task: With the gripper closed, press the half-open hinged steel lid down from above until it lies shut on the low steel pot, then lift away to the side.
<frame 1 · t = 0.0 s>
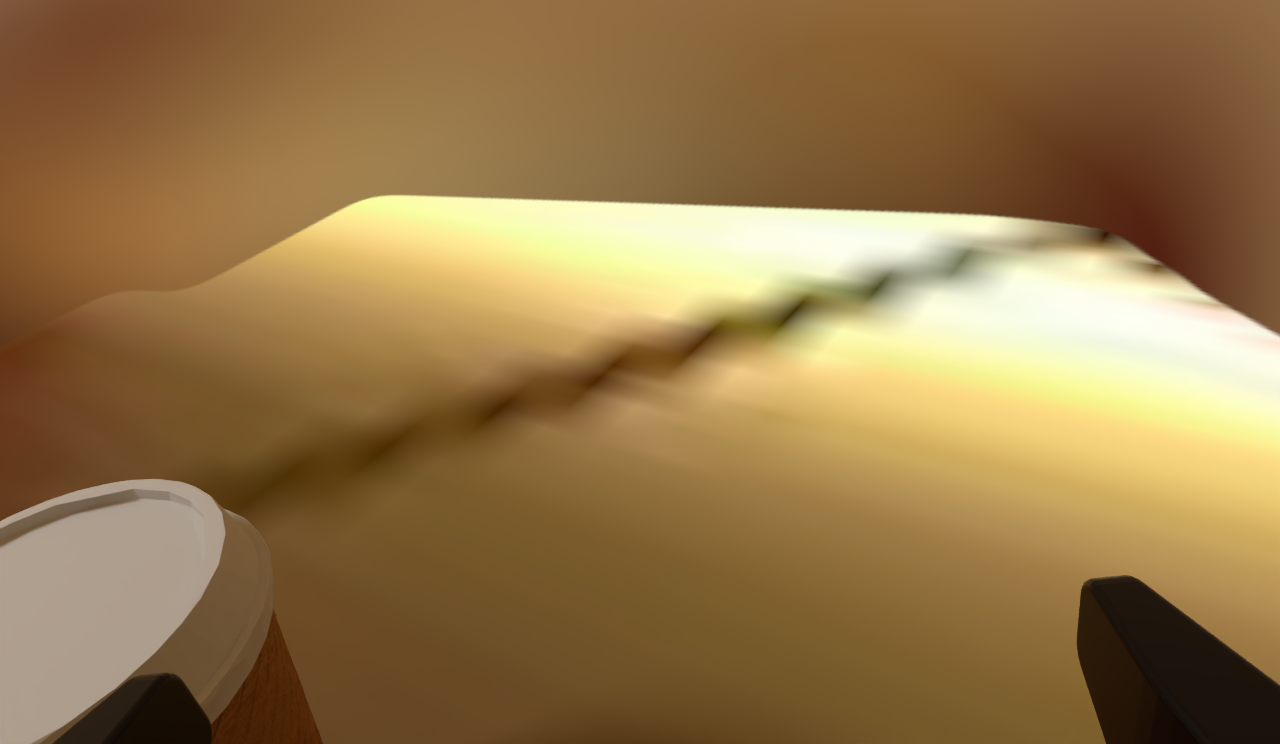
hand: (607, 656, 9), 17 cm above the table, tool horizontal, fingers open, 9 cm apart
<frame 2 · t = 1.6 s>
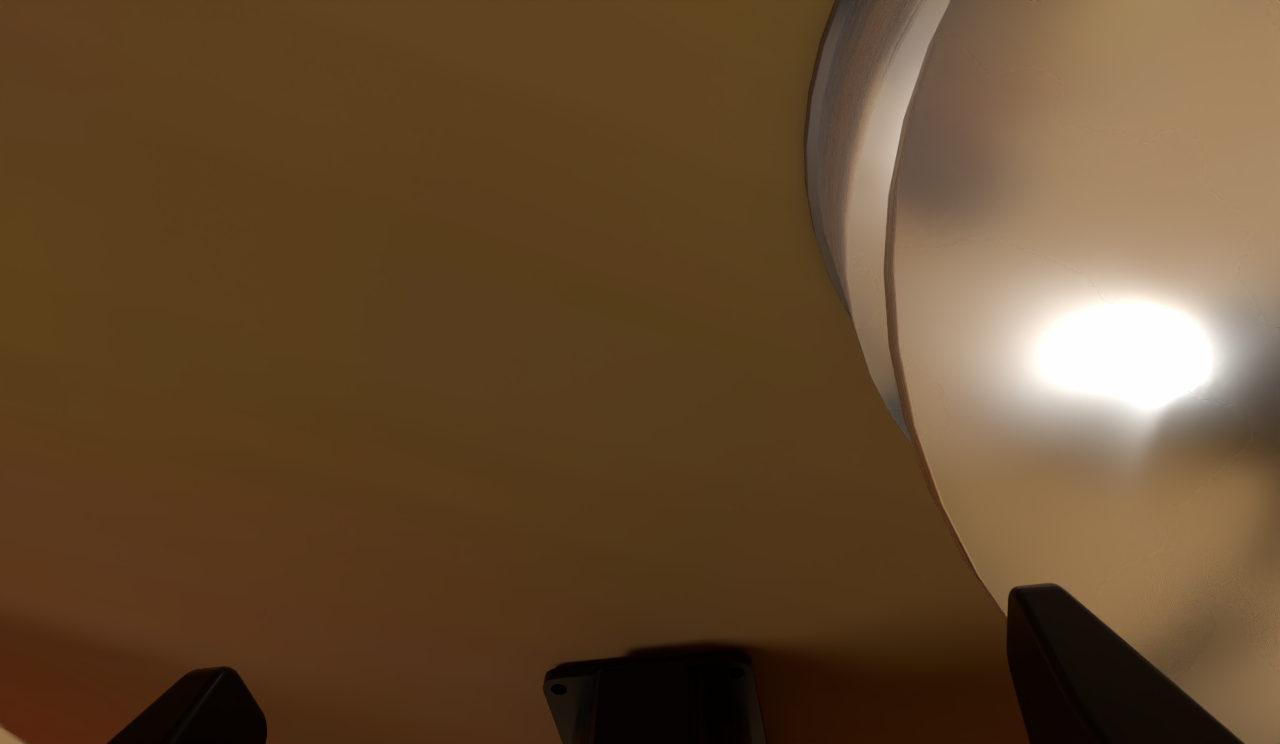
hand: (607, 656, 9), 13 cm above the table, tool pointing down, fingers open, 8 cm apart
pot: (1179, 121, 19), on the table
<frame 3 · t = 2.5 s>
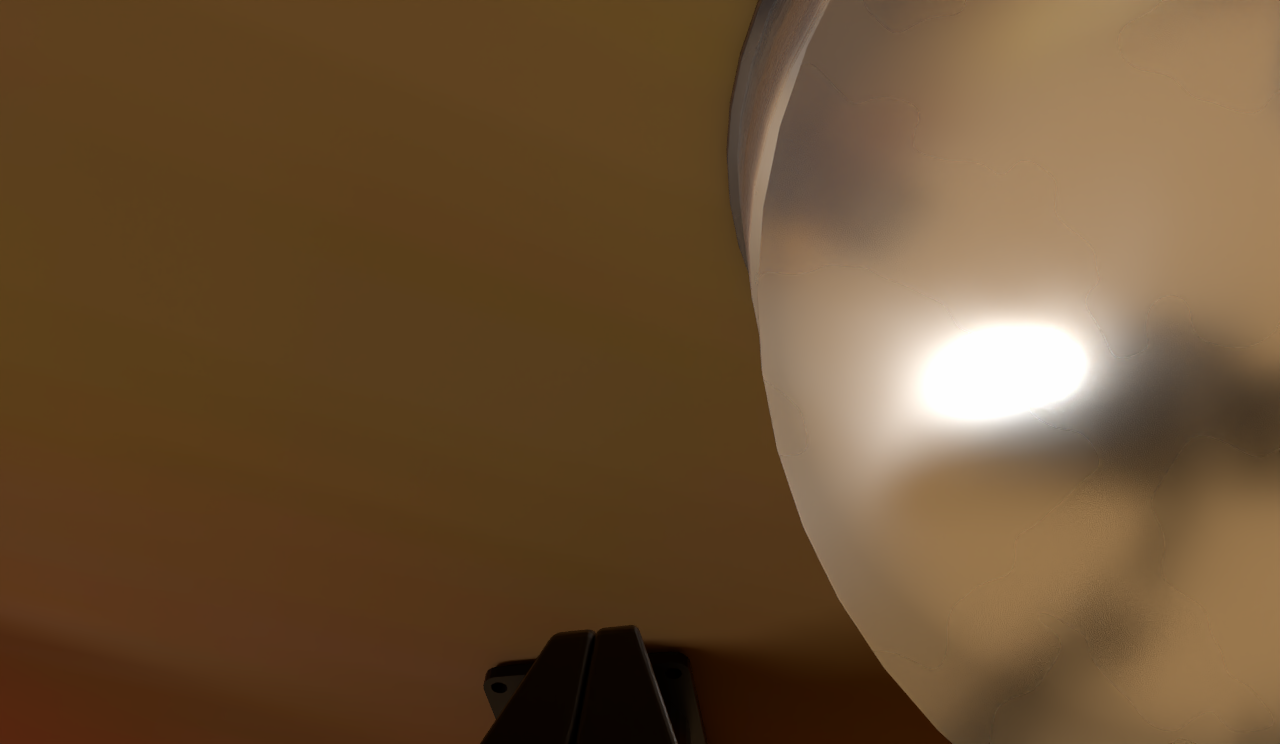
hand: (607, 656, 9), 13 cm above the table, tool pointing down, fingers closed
pot: (1096, 138, 19), on the table
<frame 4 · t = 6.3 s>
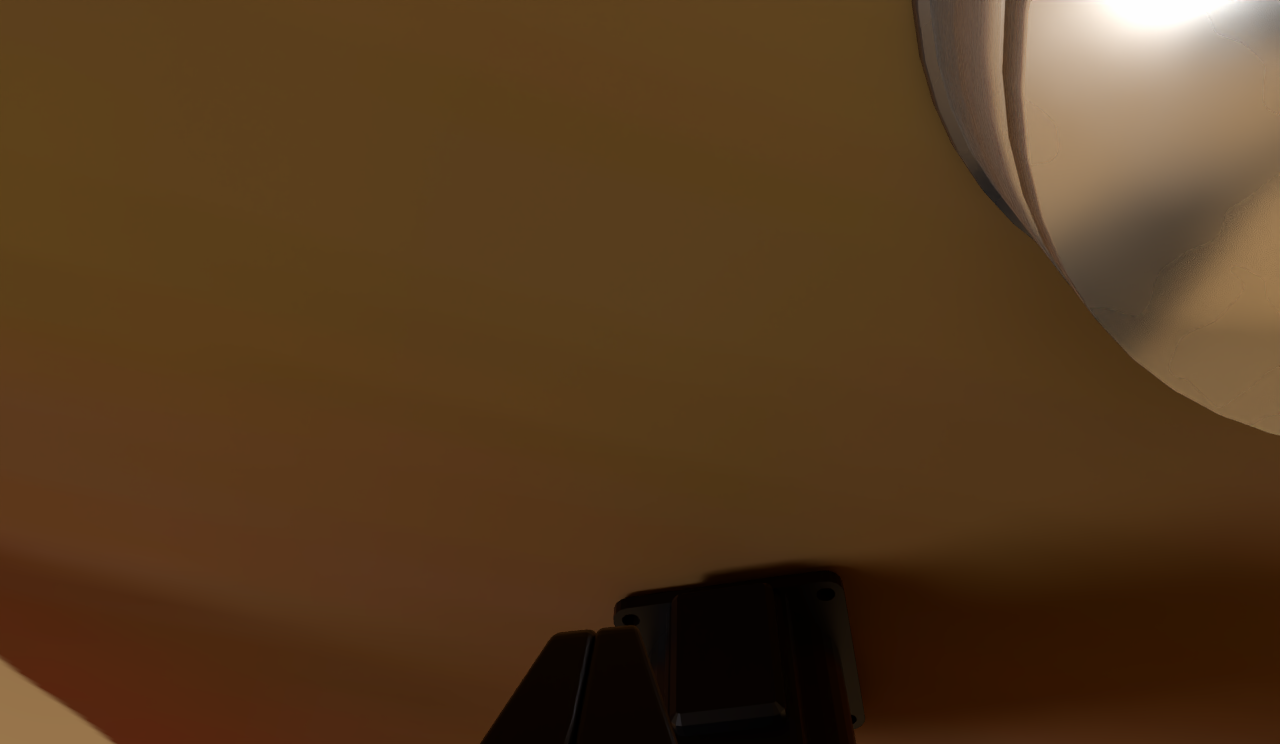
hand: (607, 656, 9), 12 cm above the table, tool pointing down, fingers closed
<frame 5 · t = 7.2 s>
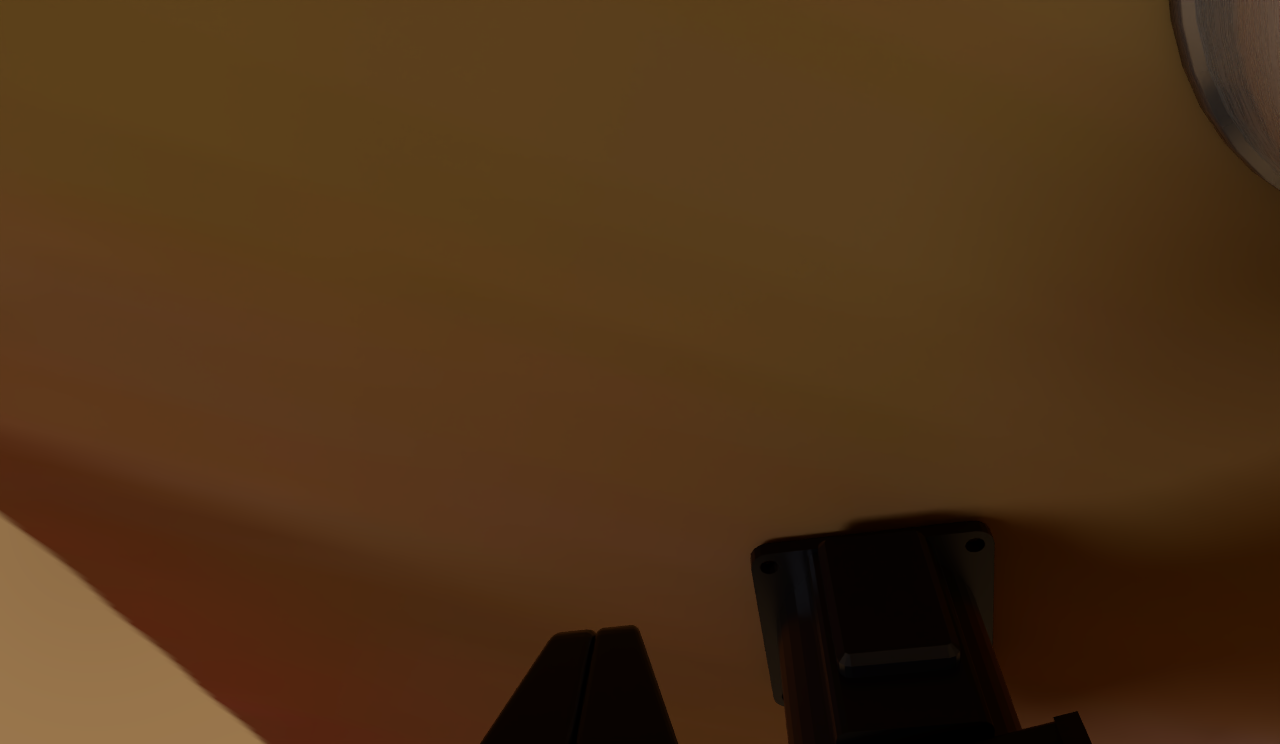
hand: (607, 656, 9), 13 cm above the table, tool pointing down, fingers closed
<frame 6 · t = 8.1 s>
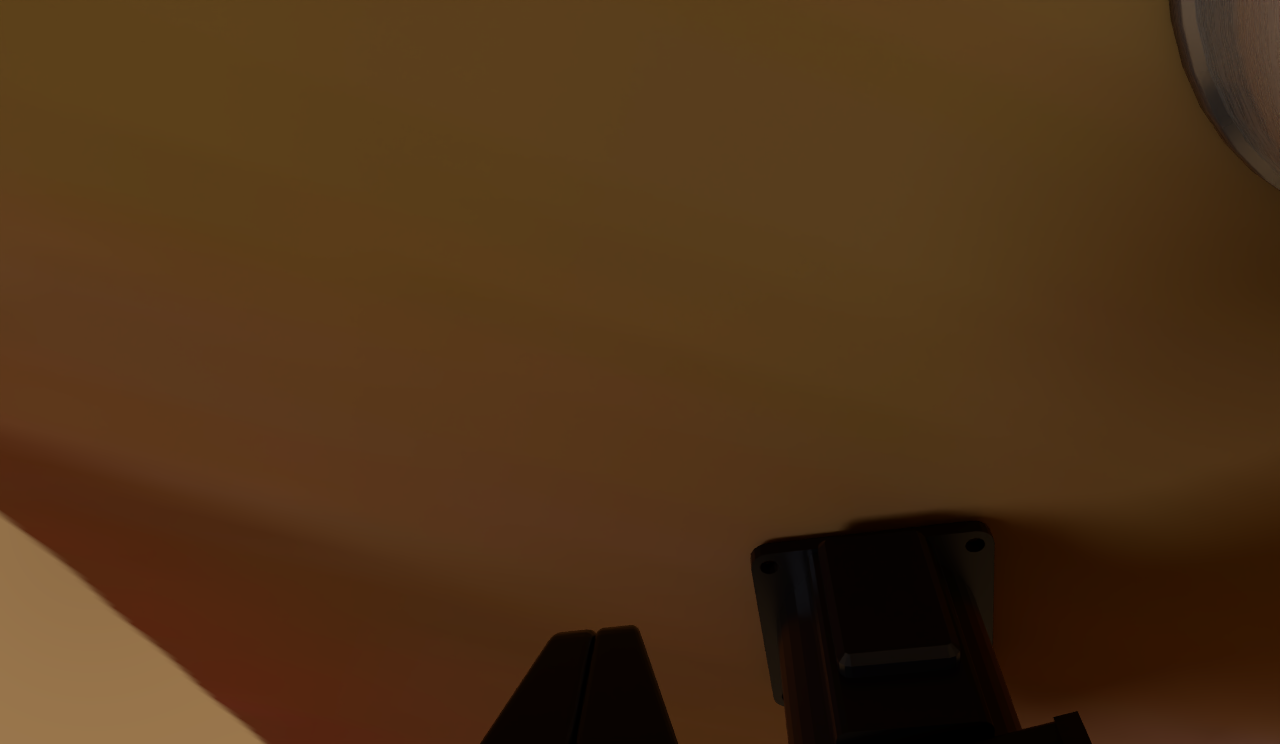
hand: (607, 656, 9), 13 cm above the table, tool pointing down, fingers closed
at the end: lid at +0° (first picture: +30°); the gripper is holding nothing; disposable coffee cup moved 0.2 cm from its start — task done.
